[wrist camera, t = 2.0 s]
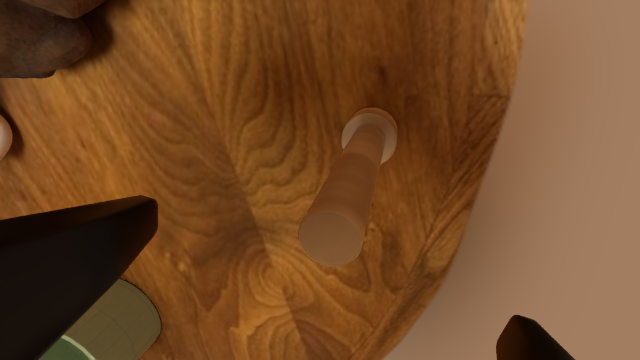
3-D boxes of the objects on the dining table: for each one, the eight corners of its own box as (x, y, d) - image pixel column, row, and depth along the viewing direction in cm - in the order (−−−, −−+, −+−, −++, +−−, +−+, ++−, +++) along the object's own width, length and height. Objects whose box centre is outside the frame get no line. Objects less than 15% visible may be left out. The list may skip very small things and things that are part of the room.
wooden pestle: (403, 151, 20) (396, 279, 9) (353, 162, 21) (297, 290, 10) (390, 100, 19) (368, 179, 8) (339, 115, 20) (261, 201, 9)
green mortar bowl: (175, 342, 31) (127, 406, 26) (112, 346, 34) (56, 404, 29) (134, 271, 29) (72, 324, 24) (70, 281, 32) (0, 331, 26)
